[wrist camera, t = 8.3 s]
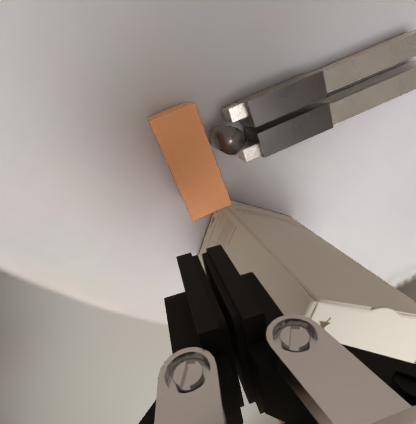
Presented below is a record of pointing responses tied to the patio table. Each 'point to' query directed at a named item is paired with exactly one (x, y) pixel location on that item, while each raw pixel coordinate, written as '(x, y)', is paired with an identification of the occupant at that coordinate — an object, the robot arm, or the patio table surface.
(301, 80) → the tongs fixed
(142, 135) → the patio table surface
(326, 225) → the patio table surface
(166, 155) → the collar
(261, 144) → the tongs arm
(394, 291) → the skincare box
